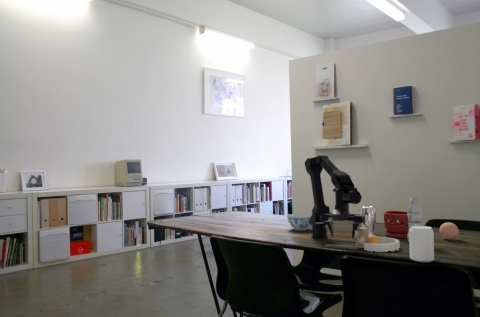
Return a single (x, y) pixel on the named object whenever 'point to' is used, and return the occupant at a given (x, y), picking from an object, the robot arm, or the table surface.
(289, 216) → the chinaware
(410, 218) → the plastic bottle
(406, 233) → the plant pot
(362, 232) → the launcher plunger
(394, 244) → the ring
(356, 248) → the launcher rails
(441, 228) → the toy ball
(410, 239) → the beverage can
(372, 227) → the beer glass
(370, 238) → the rubber ball
